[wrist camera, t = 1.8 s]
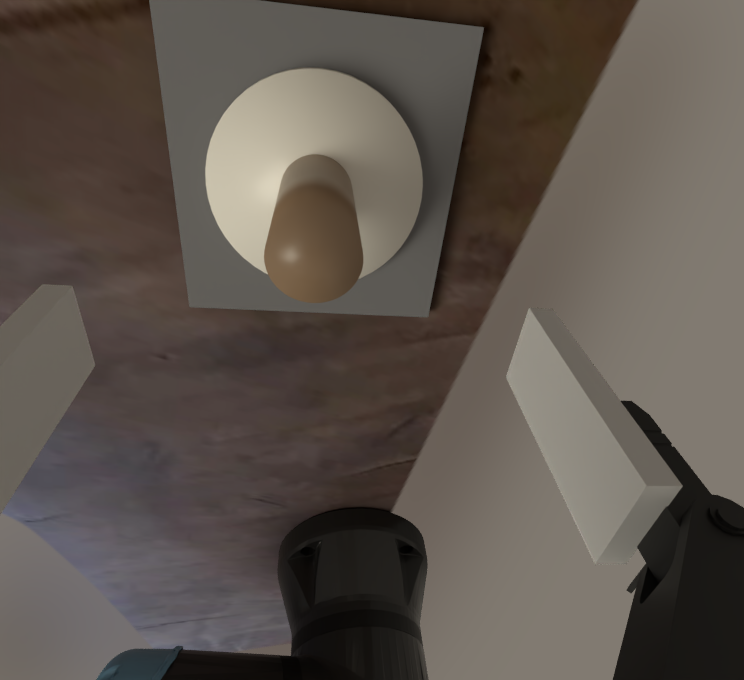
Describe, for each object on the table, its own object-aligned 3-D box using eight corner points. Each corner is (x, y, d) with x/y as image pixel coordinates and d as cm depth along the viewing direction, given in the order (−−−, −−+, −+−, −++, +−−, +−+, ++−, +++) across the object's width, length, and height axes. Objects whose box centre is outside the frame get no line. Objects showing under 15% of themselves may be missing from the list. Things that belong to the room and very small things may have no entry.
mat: (426, 311, 34) (428, 317, 33) (192, 300, 32) (189, 307, 31) (479, 26, 25) (484, 27, 24) (152, -13, 23) (147, -14, 22)
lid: (405, 283, 32) (433, 379, 24) (218, 274, 30) (178, 373, 22) (435, 79, 25) (491, 112, 17) (197, 54, 24) (131, 78, 15)
